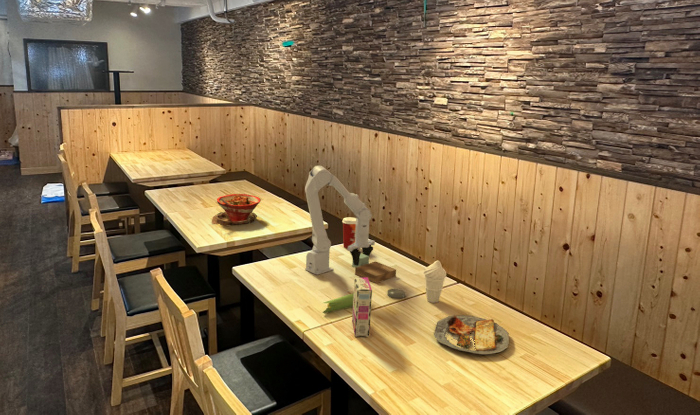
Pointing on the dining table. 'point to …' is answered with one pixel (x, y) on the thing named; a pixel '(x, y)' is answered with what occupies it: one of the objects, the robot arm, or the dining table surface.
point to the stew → (236, 209)
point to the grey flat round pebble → (396, 293)
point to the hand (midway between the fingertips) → (360, 263)
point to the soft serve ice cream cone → (434, 281)
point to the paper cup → (349, 231)
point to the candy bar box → (361, 306)
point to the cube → (362, 260)
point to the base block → (375, 272)
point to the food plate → (483, 332)
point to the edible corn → (339, 303)
